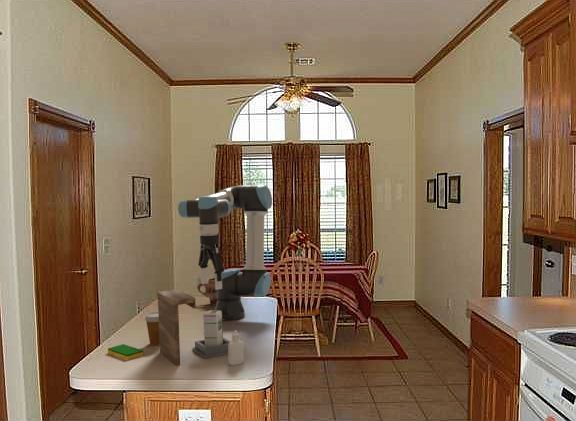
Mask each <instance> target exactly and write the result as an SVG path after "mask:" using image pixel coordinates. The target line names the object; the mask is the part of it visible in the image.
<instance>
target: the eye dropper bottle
mask: <svg viewBox="0 0 576 421" xmlns="http://www.w3.org/2000/svg"><path fill="white" fill-rule="evenodd" d="M231 339H232V340H231V341H230V343H229V344H228V354H227V355H228V359H227V360H228V365H230V366H238V365H241V364H244V363H245V348H244V347H245V346H244V344H245V343H244V341H243V340H240V333H238V331H237V330H234V331H233V333H232V335H231Z"/></svg>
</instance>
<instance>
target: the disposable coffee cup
mask: <svg viewBox="0 0 576 421" xmlns="http://www.w3.org/2000/svg"><path fill="white" fill-rule="evenodd" d="M144 320H145V322H146V327H147V328H146V329H147V333H148V340H149V344H150V345H152V346H160V341H159V314H158V311H155V312H150V313H147V314H145V317H144Z"/></svg>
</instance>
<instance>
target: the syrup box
mask: <svg viewBox="0 0 576 421" xmlns="http://www.w3.org/2000/svg"><path fill="white" fill-rule="evenodd" d="M202 317H203V318H202V319H203V335H204V340H205V346H206V347H212V346H217V345H222V344H223V338H224V334H223V329H224V328H223V320H222V311H220V310H215V309H213V310H207V311H206V312H204V313H203V316H202Z"/></svg>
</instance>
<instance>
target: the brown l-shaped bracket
mask: <svg viewBox="0 0 576 421" xmlns="http://www.w3.org/2000/svg"><path fill="white" fill-rule="evenodd" d="M156 294H157V308H158V309H157V310H158V311H157V312H158V314H159V341H160V345H159V352H160V354H162V355H163V357H165V358H166V359H168V360H169V362H170V363H172V364H173V365H174V366H180V365H181V350H180V348H181V346H180V345H181V344H180V319H179V317H180V316H179V305H181V306H182V305H187V306H189V307H191V308H193V309H196V308H197V304H196V302H197V301H196V297H194V296H192V295H189V294H187V293H186V292H184V291H181V290H179V289H171V290H170V289H169V290H162V291H157V293H156Z"/></svg>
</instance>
